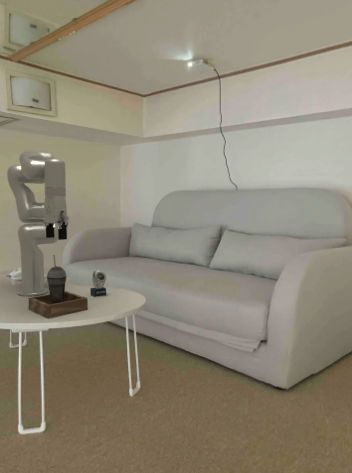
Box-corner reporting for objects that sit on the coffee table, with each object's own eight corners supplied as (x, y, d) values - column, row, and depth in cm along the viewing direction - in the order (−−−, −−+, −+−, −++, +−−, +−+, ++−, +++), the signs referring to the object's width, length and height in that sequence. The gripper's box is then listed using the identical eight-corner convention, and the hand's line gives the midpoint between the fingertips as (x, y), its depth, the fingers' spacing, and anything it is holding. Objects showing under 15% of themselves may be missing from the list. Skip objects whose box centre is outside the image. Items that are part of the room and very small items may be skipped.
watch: (96, 297, 161) (96, 272, 160) (88, 294, 168) (88, 270, 167) (108, 295, 165) (108, 271, 164) (100, 292, 171) (100, 268, 170)
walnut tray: (28, 309, 143) (28, 297, 143) (66, 301, 154) (66, 291, 154) (48, 318, 132) (47, 306, 131) (87, 309, 143) (87, 298, 143)
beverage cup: (57, 310, 138) (55, 256, 137) (43, 307, 142) (41, 255, 140) (71, 305, 145) (70, 254, 143) (57, 303, 148) (56, 253, 147)
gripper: (35, 193, 143) (36, 237, 144) (57, 192, 131) (58, 241, 132) (53, 193, 148) (54, 236, 150) (76, 193, 136) (77, 239, 137)
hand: (56, 238), depth 141 cm, fingers open, 9 cm apart
